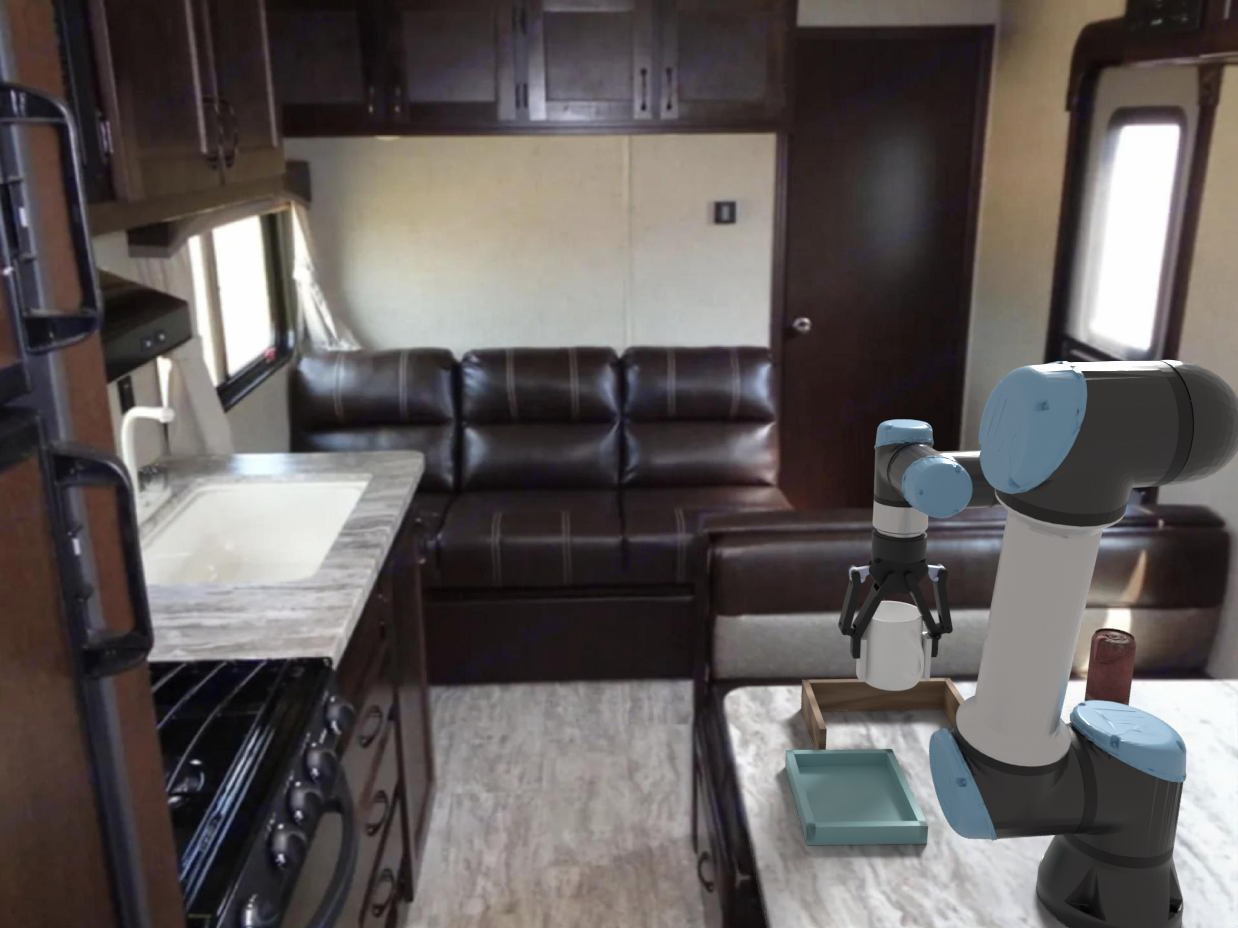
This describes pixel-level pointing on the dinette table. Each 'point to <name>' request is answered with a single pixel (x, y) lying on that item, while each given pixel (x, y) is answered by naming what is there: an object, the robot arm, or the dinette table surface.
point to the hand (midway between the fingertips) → (892, 677)
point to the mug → (894, 647)
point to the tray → (854, 798)
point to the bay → (872, 700)
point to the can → (1110, 666)
